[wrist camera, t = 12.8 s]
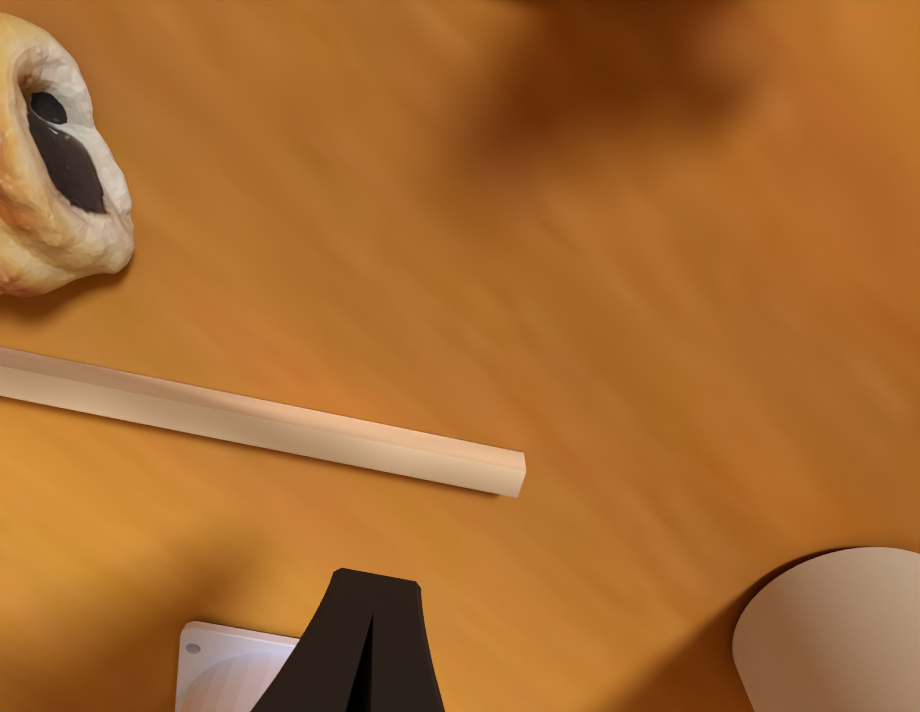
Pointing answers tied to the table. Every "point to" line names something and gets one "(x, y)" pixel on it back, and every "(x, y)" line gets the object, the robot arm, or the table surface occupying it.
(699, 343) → the table surface
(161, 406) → the lane
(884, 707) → the travel mug
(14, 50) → the pastry
